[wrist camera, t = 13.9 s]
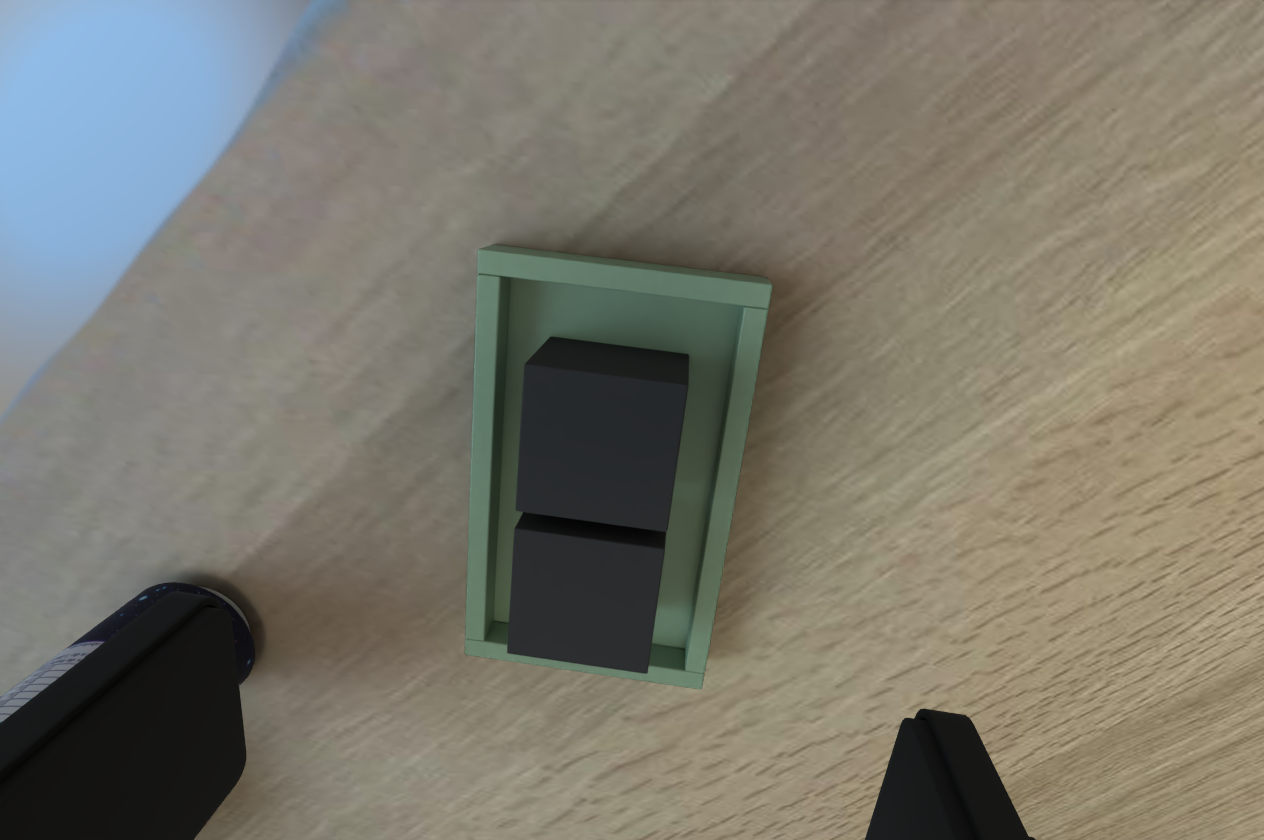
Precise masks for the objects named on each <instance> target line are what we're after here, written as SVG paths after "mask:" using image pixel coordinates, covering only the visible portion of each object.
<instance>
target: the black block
mask: <svg viewBox="0 0 1264 840" xmlns="http://www.w3.org/2000/svg"><path fill="white" fill-rule="evenodd" d="M665 544H666V532H663V531H655V530H648V529H641V528H634V527H627V526H620V525H613V524H605V523H598V522H591V521H584V520H577V519H570V518H563V517H555V516H548V515H541V514H534V513H527V512H523V513H522V515H521V517H520V519H519V521H518V523H517V525H516V527H515V528H514V541H513V558H512V575H511V593H510V610H509V627H508V644H507V653H508V654H514V655H521V656H528V657H535V658H541V659H548V660H555V661H562V662H569V663H575V664H582V665H589V666H596V667H602V668H609V669H616V670H623V671H630V672H636V673H643V674H647V673H648V667H649V660H650V653H651V645H652V638H653V631H654V624H655V617H656V610H657V603H658V596H659V589H660V582H661V575H662V568H663V561H664V554H665Z"/></svg>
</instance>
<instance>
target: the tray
mask: <svg viewBox="0 0 1264 840" xmlns="http://www.w3.org/2000/svg"><path fill="white" fill-rule="evenodd" d="M477 272H478V273H479V274H478V275H477V296H476V326H475V356H474V385H473V415H472V445H471V475H470V504H469V534H468V564H467V594H466V623H465V654H466V655H471V656H478V657H485V658H491V659H498V660H505V661H512V662H518V663H525V664H532V665H539V666H545V667H552V668H559V669H566V670H572V671H579V672H586V673H593V674H599V675H606V676H613V677H620V678H626V679H633V680H640V681H647V682H654V683H660V684H667V685H674V686H681V687H687V688H694V689H701V688H702V686H703V680H704V672H705V669H706V664H707V658H708V652H709V646H710V641H711V635H712V629H713V624H714V618H715V612H716V607H717V601H718V595H719V590H720V584H721V578H722V572H723V567H724V561H725V555H726V550H727V544H728V538H729V533H730V527H731V521H732V516H733V510H734V504H735V498H736V493H737V487H738V481H739V476H740V470H741V464H742V459H743V453H744V447H745V441H746V436H747V430H748V424H749V419H750V413H751V407H752V402H753V396H754V390H755V385H756V379H757V373H758V367H759V362H760V356H761V350H762V345H763V339H764V333H765V328H766V322H767V316H768V308H769V305H770V299H771V294H772V288H773V285H772V284H771V282H770V281H769V280H768V278H767V277H759V276H751V275H743V274H734V273H726V272H718V271H710V270H701V269H693V268H685V267H676V266H668V265H660V264H652V263H643V262H635V261H627V260H619V259H610V258H602V257H594V256H586V255H577V254H569V253H561V252H552V251H544V250H536V249H528V248H519V247H511V246H503V245H495V244H493V245H490V246H487V247H484V248H481V249H478V261H477ZM551 336H552V337H560V338H568V339H575V340H583V341H591V342H599V343H607V344H614V345H622V346H630V347H638V348H645V349H653V350H661V351H669V352H677V353H684V354H689V385H688V393H687V400H686V407H685V414H684V421H683V428H682V435H681V442H680V449H679V456H678V463H677V470H676V476H675V483H674V490H673V497H672V504H671V511H670V518H669V525H668V530H667V532H666V544H665V554H664V561H663V568H662V575H661V582H660V589H659V596H658V603H657V610H656V617H655V624H654V631H653V638H652V645H651V653H650V660H649V667H648V673H647V674H643V673H636V672H630V671H623V670H616V669H609V668H602V667H596V666H589V665H582V664H575V663H569V662H562V661H555V660H548V659H541V658H535V657H528V656H521V655H514V654H508V653H507V644H508V627H509V610H510V593H511V575H512V558H513V541H514V528H515V527H516V525H517V523H518V521H519V519H520V517H521V515H522V513H523V512H520V511H516V509H515V507H516V490H517V474H518V457H519V441H520V424H521V408H522V391H523V375H524V364H525V363H526V362H527V361H528V360H529V359H530V358H531V356H532V355H533V354H534V353H535V352H536V351H537V350H538V349H539V348H540V347H541V346H542V345H543V344H544V343H545V342H546V341H547V339H548V338H549V337H551Z"/></svg>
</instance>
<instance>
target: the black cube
mask: <svg viewBox="0 0 1264 840" xmlns="http://www.w3.org/2000/svg"><path fill="white" fill-rule="evenodd" d="M688 385H689V354H684V353H677V352H669V351H661V350H653V349H645V348H638V347H630V346H622V345H614V344H607V343H599V342H591V341H583V340H575V339H568V338H560V337H552V336H551V337H549V338H548V339H547V341H546V342H545V343H544V344H543V345H542V346H541V347H540V348H539V349H538V350H537V351H536V352H535V353H534V354H533V355H532V356H531V358H530V359H529V360H528V361H527V362H526V363H525V364H524V375H523V391H522V408H521V424H520V441H519V457H518V474H517V490H516V507H515V509H516V511H520V512H527V513H534V514H541V515H548V516H555V517H563V518H570V519H577V520H584V521H591V522H598V523H605V524H613V525H620V526H627V527H634V528H641V529H648V530H655V531H663V532H667V530H668V525H669V518H670V511H671V504H672V497H673V490H674V483H675V476H676V470H677V463H678V456H679V449H680V442H681V435H682V428H683V421H684V414H685V407H686V400H687V393H688Z"/></svg>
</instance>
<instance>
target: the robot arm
mask: <svg viewBox="0 0 1264 840" xmlns="http://www.w3.org/2000/svg"><path fill="white" fill-rule="evenodd" d="M245 762H246V746H245V737H244V727H243V718H242V709H241V700H240V691H239V682H238V673H237V664H236V654H235V645H234V636H233V627H232V619H231V615H230V613H229V612H228V611H227V610H224V609H223V607H222V603H221V602H220V601H219V599H218V598H215V597H211V596H205V595H198V594H192V593H186V592H179V591H175V592H170V593H168V594H166V595H165V596H163V597H162V598H160V599H159V600H158V601H157V602H155V603H154V604H153V605H151V606H150V607H149V608H148V609H146V610H145V611H144V612H142V613H141V614H140V615H139V616H137V617H136V618H135V619H133V620H132V621H131V622H130V623H128V624H127V625H126V626H124V627H123V628H122V629H121V630H119V631H118V632H117V633H115V634H114V635H113V636H112V637H110V638H109V639H108V640H106V641H105V642H104V643H103V644H101V645H100V646H99V647H97V648H96V649H95V650H94V651H92V652H91V653H90V654H88V655H87V656H86V657H85V658H83V659H82V660H81V661H79V662H78V663H77V664H76V665H74V666H73V667H72V668H71V669H69V670H68V671H67V672H65V673H64V674H63V675H62V676H60V677H59V678H58V679H56V680H55V681H54V682H53V683H51V684H50V685H49V686H47V687H46V688H45V689H44V690H42V691H41V692H40V693H38V694H37V695H36V696H35V697H33V698H32V699H31V700H29V701H28V702H27V703H26V704H24V705H23V706H22V707H20V708H19V709H18V710H17V711H15V712H14V713H13V714H11V715H10V716H9V717H8V718H6V719H5V720H4V721H2V722H1V723H0V840H194V838H195V837H196V836H197V834H198V833H199V832H200V831H201V829H202V828H203V827H204V825H205V824H206V823H207V821H208V820H209V819H210V818H211V816H212V815H213V814H214V812H215V811H216V810H217V808H218V807H219V806H220V805H221V803H222V802H223V801H224V799H225V798H226V797H227V795H228V794H229V793H230V792H231V790H232V789H233V788H234V786H235V785H236V783H237V782H238V780H239V779H240V777H241V775H242V772H243V769H244V767H245ZM865 840H1036V839H1035V838H1033V837H1029V836H1028V834H1027V832H1026V830H1025V828H1024V826H1023V824H1022V822H1021V820H1020V818H1019V816H1018V814H1017V812H1016V810H1015V808H1014V806H1013V804H1012V802H1011V800H1010V798H1009V796H1008V794H1007V792H1006V789H1005V787H1004V785H1003V783H1002V781H1001V779H1000V777H999V775H998V773H997V771H996V769H995V767H994V765H993V763H992V761H991V759H990V757H989V755H988V753H987V751H986V749H985V747H984V744H983V742H982V740H981V738H980V736H979V734H978V732H977V730H976V728H975V726H974V724H973V723H972V721H971V720H970V718H969V717H967V716H966V715H961V714H955V713H948V712H942V711H936V710H929V709H920V710H919V711H918V712H917V714H916V716H915V718H914V719H912V718H905V719H904V720H903V721H902V723H901V726H900V729H899V732H898V735H897V738H896V742H895V745H894V748H893V751H892V754H891V758H890V761H889V764H888V767H887V770H886V774H885V777H884V780H883V783H882V787H881V790H880V793H879V796H878V799H877V803H876V806H875V809H874V812H873V815H872V819H871V822H870V825H869V828H868V832H867V835H866V838H865Z"/></svg>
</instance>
